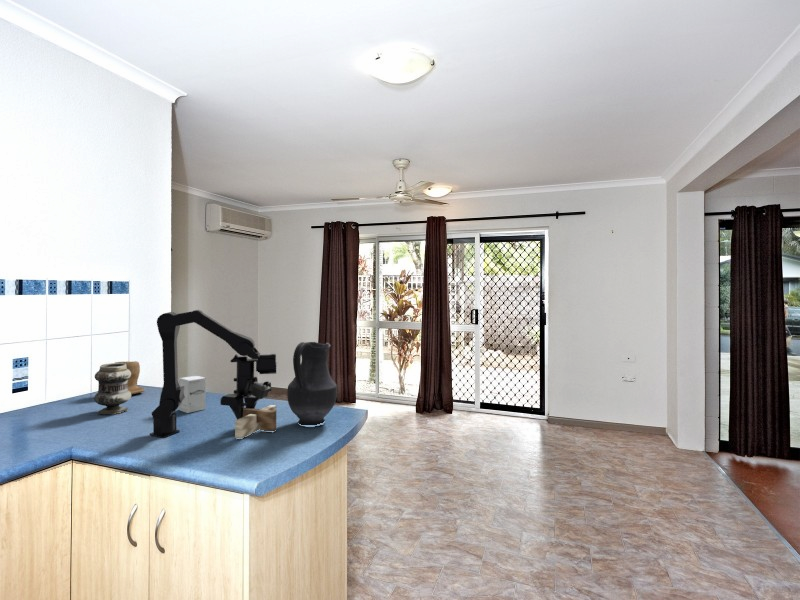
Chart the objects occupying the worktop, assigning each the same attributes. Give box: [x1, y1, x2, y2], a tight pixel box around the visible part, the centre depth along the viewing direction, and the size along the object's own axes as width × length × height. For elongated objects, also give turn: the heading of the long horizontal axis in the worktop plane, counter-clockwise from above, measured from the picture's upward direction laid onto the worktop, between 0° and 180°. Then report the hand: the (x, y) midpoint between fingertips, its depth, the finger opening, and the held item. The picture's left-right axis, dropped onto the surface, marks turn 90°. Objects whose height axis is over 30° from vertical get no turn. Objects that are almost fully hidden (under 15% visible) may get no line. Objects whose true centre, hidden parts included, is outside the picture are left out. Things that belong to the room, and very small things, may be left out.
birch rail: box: [234, 404, 277, 439], centre depth 154 cm, size 20×2×6 cm, turn 163°
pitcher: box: [286, 341, 338, 425], centre depth 160 cm, size 17×21×30 cm
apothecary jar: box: [93, 362, 132, 415], centre depth 173 cm, size 12×12×18 cm
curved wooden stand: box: [114, 360, 146, 396], centre depth 199 cm, size 15×12×15 cm
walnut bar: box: [243, 407, 277, 431], centre depth 154 cm, size 14×2×7 cm, turn 73°
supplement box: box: [178, 375, 207, 414], centre depth 177 cm, size 7×7×13 cm
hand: (245, 420), depth 155 cm, fingers open, 5 cm apart
